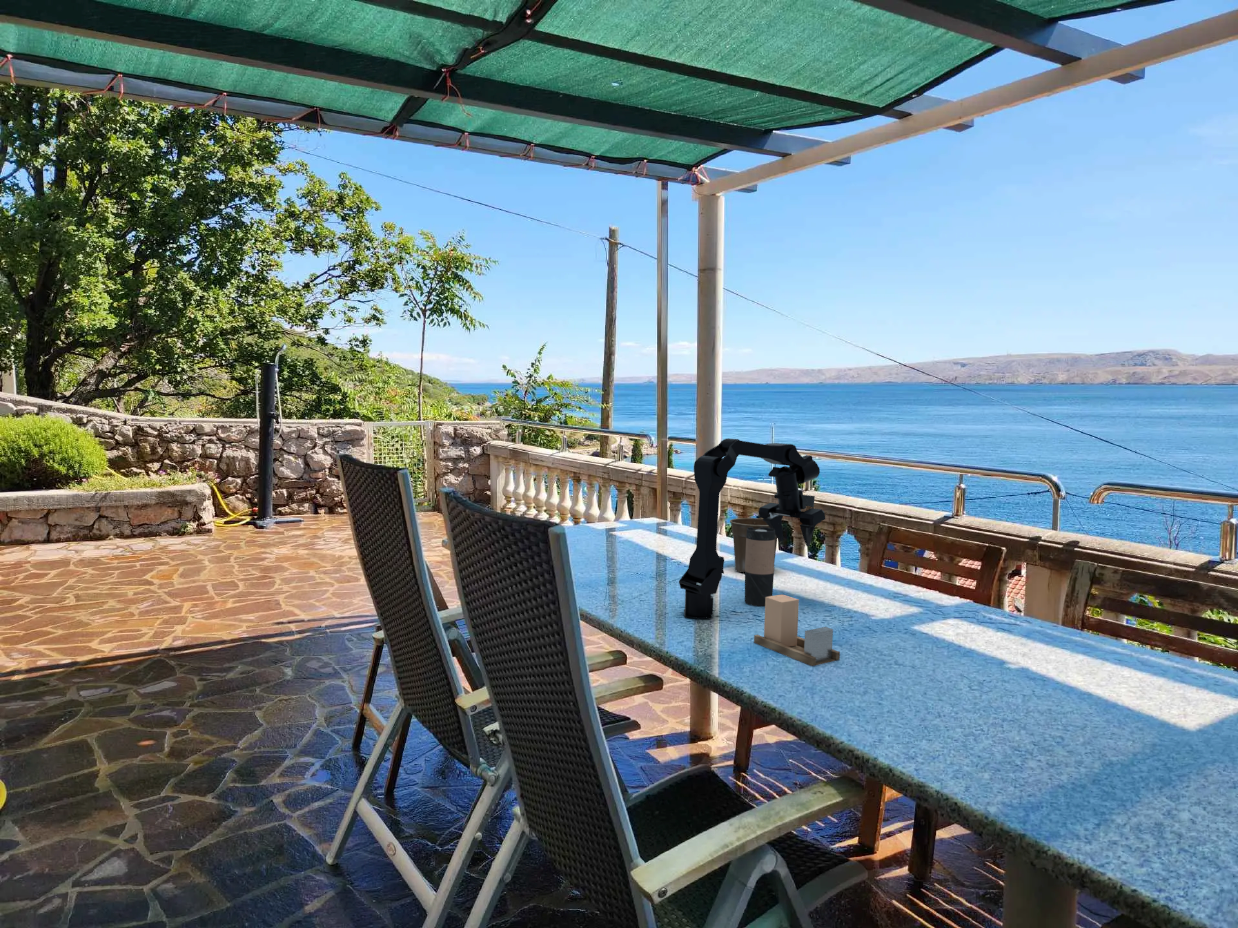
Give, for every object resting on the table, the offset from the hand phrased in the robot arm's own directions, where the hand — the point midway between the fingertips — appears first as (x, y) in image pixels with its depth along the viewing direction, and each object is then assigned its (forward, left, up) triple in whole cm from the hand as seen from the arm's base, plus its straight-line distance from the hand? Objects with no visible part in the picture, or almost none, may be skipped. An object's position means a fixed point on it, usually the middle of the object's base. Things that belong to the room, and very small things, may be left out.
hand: (794, 543), depth 206 cm
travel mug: (-10, -6, -16) cm, 20 cm away
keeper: (-11, -44, -15) cm, 48 cm away
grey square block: (-4, -53, -15) cm, 55 cm away
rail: (-8, -48, -15) cm, 51 cm away
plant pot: (-6, +34, -16) cm, 38 cm away
